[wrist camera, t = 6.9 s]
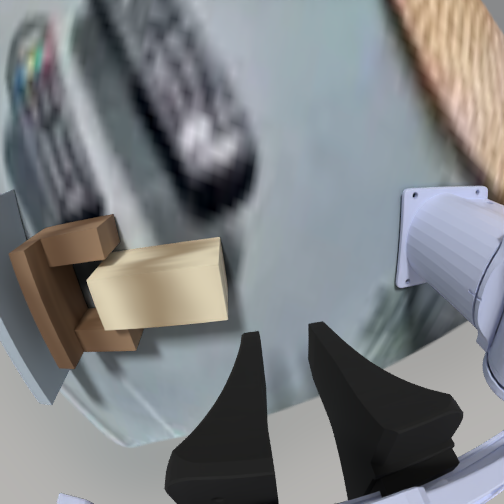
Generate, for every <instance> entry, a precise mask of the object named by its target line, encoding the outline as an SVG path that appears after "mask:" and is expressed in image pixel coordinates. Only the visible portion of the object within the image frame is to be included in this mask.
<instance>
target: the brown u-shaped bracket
mask: <svg viewBox="0 0 504 504" xmlns="http://www.w3.org/2000/svg"><path fill="white" fill-rule="evenodd" d="M119 243H120V240H119V236H118V232H117V228H116V223H115V219H114V214H112V215H106V216H101V217H96V218H91V219H85V220H81V221H76V222H71V223H66V224H61V225H57V226H52V227H47V228H45V229H43V230H42V231H40V232H39V233H37V234H36V235H34V236H33V237H31V238H30V239H28V240H27V241H26V242H24V243H23V244H21V245H20V246H18V247H17V248H16V249H14V250H13V251H11V252H10V253H9V257H10V260H11V263H12V266H13V269H14V272H15V275H16V277H17V280H18V283H19V285H20V288H21V290H22V293H23V295H24V298H25V300H26V303H27V305H28V307H29V309H30V312H31V314H32V316H33V318H34V321H35V323H36V325H37V327H38V329H39V331H40V333H41V335H42V337H43V339H44V341H45V343H46V345H47V347H48V349H49V351H50V353H51V355H52V357H53V358H54V360H55V362H56V364H57V366H58V367H59V368H61V369H75V368H76V366H77V364H78V362H79V360H80V358H81V356H82V354H83V352H105V351H136V350H137V347H138V344H139V341H140V338H141V336H142V333H143V330H144V328H137V329H122V330H105V329H104V327H103V324H102V322H101V319H100V317H99V314H98V311H97V309H96V308H87V305H86V302H85V300H84V297H83V294H82V292H81V289H80V286H79V283H78V280H77V277H76V274H75V271H74V268H73V265H72V264H76V263H83V262H90V261H97V260H105V259H106V258H107V256H108V255H109V254H110V253H111V252H112V251H113V249H114V248H115V247H116V246H117V245H118V244H119Z"/></svg>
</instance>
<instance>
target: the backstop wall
mask: <svg viewBox="0 0 504 504" xmlns="http://www.w3.org/2000/svg"><path fill="white" fill-rule="evenodd" d="M26 241H27V240H26V236H25V233H24V229H23V226H22V222H21V218H20V214H19V210H18V206H17V201H16V197H15V192H14V190H11V191H8V192H6V193H3V194H0V341H1V343H2V345H3V346H4V348H5V350H6V352H7V354H8V355H9V357H10V359H11V361H12V362H13V364H14V366H15V367H16V369H17V370H18V372H19V374H20V375H21V377H22V378H23V380H24V381H25V383H26V385H27V386H28V388H29V389H30V391H31V392H32V394H33V395H34V396H35V398H36V399H37V400H38V402H39V403H41V404H47V405H53V402H54V400H55V398H56V396H57V394H58V392H59V390H60V388H61V386H62V384H63V382H64V380H65V378H66V376H67V374H68V372H69V370H70V369H61V368H59V367H58V366H57V364H56V362H55V360H54V358H53V357H52V355H51V353H50V351H49V349H48V347H47V345H46V343H45V341H44V339H43V337H42V335H41V333H40V331H39V329H38V327H37V325H36V323H35V321H34V318H33V316H32V314H31V312H30V309H29V307H28V305H27V303H26V300H25V298H24V295H23V293H22V290H21V288H20V285H19V283H18V280H17V277H16V275H15V272H14V269H13V266H12V263H11V260H10V257H9V253H10V252H11V251H13V250H14V249H16V248H17V247H18V246H20V245H21V244H23V243H24V242H26Z"/></svg>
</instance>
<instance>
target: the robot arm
mask: <svg viewBox="0 0 504 504" xmlns="http://www.w3.org/2000/svg"><path fill="white" fill-rule="evenodd" d="M476 191H477V192H476ZM413 193H415V197H414V198H413ZM487 195H488V190H487V188H486V187H484V186H453V187H425V188H407V189H405V190H404V191H403V193H402V209H401V228H400V243H399V255H398V265H397V274H396V285H397V286H398V287H399V288H404V287H409V286H414V285H419V284H423V283H429V284H430V285H431V286H432V287H433V288H434V289H435V290H436V291H438V292H439V293H440V294H441V295H442V296H443V297H444V298H445V299H446V300H447V301H448V302H449V303H451V304H452V305H453V306H454V307H455V308H456V309H457V310H458V311H459V312H460V313H461V314H462V315H463V316H464V317H465V318H466V319H467V320H468V321H469V322H470V323H471V324H473V325H474V327H476V329H477V330H478V337H477V340H476V342H477V343H478V344H479V345H480V346H481V347H482V348H483V349H484V351H485V352H486V353H485V356H484V359H483V373H484V377H485V379H486V382H487V383H488V385H489V387H490V388H491V389H492V391H493V392H494V393H495V394H496V395H497V396H498V397H499V398H500V399H502V400H503V401H504V206H503V205H501V204H499V203H496V202H494V201H491V200H489V199H487ZM407 279H408V281H407V282H405V281H406V280H407ZM308 360H309V364H310V368H311V372H312V376H313V380H314V382H315V385H316V387H317V390H318V392H319V395H320V397H321V400H322V402H323V404H324V407H325V410H326V412H327V415H328V417H329V420H330V423H331V426H332V429H333V433H334V437H335V440H336V445H337V449H338V453H339V457H340V461H341V466H342V471H343V476H344V480H345V486H346V491H347V497H348V501H344V502H341V503H337V504H485V503H486V502H488V501H489V500H491V499H492V498H493V497H495V496H496V495H498V494H499V493H500V492H502V491H503V490H504V430H503V431H502V432H500V433H499V434H497V435H495V436H494V437H492V438H491V439H489V440H488V441H486V442H484V443H483V444H481V445H479V446H478V447H476V448H474V449H472V450H471V451H469V452H467V453H465V454H464V455H462V456H460V457H458V458H457V456H456V454H455V453H454V451H453V449H452V448H453V447H454V442H453V440H452V439H451V437H452V436H453V434H454V433H455V431H456V430H457V428H458V427H459V425H460V423H461V421H462V419H463V412H462V410H461V409H460V407H459V406H458V404H457V402H456V401H455V400H454V399H453V397H452V396H451V395H450V394H446V393H442V392H438V391H434V390H430V389H427V388H424V387H421V386H418V385H415V384H412V383H410V382H407V381H405V380H403V379H400V378H398V377H396V376H394V375H392V374H390V373H388V372H387V371H385V370H383V369H381V368H380V367H378V366H376V365H375V364H373V363H372V362H370V361H369V360H367V359H366V358H365V357H363V356H362V355H360V354H359V353H358V352H357V351H355V350H354V349H353V348H352V347H351V346H349V345H348V344H347V343H346V342H345V341H343V340H342V339H341V338H340V337H339V336H338V335H337V334H336V333H335V332H334V331H333V330H332V329H330V328H329V327H328V326H327V325H326V324H325V323H324V322H323V321H322V322H317V323H311V324H309V348H308ZM165 490H166V492H167V494H169V496H170V497H171V498H172V499H173V500H174V501H175V502H176V503H177V504H278V495H277V487H276V479H275V471H274V465H273V458H272V451H271V445H270V439H269V433H268V424H267V399H266V383H265V374H264V365H263V357H262V348H261V340H260V335H259V331H256V332H248V333H244V334H243V335H242V337H241V344H240V348H239V352H238V355H237V358H236V361H235V364H234V367H233V369H232V372H231V374H230V376H229V378H228V380H227V383H226V385H225V387H224V388H223V390H222V392H221V394H220V396H219V397H218V399H217V401H216V402H215V404H214V405H213V407H212V408H211V409H210V411H209V412H208V414H207V415H206V416H205V418H204V419H203V420H202V421H201V422H200V424H199V425H198V426H197V427H196V428H195V429H194V431H193V432H192V433H191V434H190V435H189V436H188V437H187V438H186V439H185V440H184V441H183V442H182V443H181V444H180V445H178V446H177V447H176V448H175V449H174V450H173V451H172V454H171V456H170V459H169V463H168V466H167V471H166V478H165ZM57 504H94V503H92V502H90V501H88V500H86V499H83V498H79V497H75V496H71V495H67V494H63V493H59V496H58V500H57Z"/></svg>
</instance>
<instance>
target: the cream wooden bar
mask: <svg viewBox="0 0 504 504" xmlns="http://www.w3.org/2000/svg"><path fill="white" fill-rule="evenodd" d="M86 281H87V284H88V287H89V290H90V293H91V295H92V298H93V301H94V304H95V306H96V309H97V311H98V314H99V317H100V319H101V322H102V324H103V327H104V329H105V330H122V329H137V328H151V327H163V326H174V325H185V324H195V323H205V322H214V321H223V320H228V284H227V278H226V272H225V266H224V259H223V253H222V247H221V240H220V237H216V238H209V239H202V240H194V241H187V242H180V243H172V244H165V245H158V246H151V247H144V248H137V249H131V250H124V251H117V252H111V253H110V254H109V255H108V256H107V258H106V259H105V260H103V261H102V262H101V264H100V265H99V266H98V267H97V268H96V269H95V271H94V272H93V273H92V274H91V275H90V277H89V278H88V279H87V280H86Z"/></svg>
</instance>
